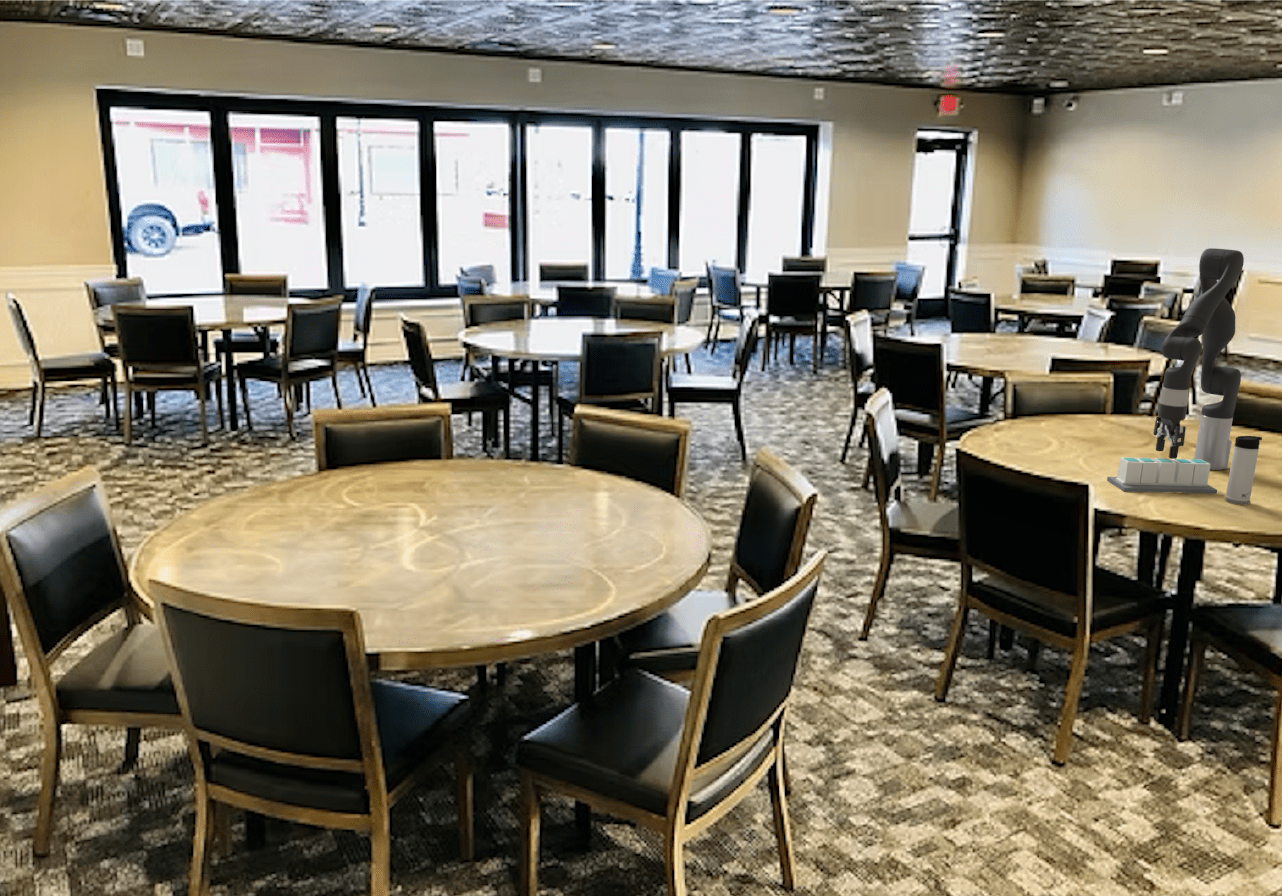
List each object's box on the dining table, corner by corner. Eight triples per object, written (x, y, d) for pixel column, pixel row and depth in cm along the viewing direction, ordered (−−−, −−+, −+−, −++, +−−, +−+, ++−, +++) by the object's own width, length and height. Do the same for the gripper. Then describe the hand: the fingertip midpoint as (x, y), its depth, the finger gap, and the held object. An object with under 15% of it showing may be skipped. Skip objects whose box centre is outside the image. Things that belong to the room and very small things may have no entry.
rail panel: (1196, 482, 329) (1200, 456, 327) (1216, 493, 317) (1221, 466, 315) (1106, 480, 329) (1110, 453, 327) (1123, 491, 317) (1127, 464, 315)
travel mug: (1248, 506, 305) (1260, 439, 300) (1223, 502, 309) (1234, 435, 304) (1252, 501, 310) (1263, 435, 305) (1227, 497, 314) (1238, 432, 309)
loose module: (1164, 478, 325) (1167, 457, 324) (1173, 483, 320) (1176, 462, 318) (1150, 478, 325) (1153, 457, 324) (1158, 483, 320) (1161, 462, 318)
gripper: (1198, 408, 310) (1189, 461, 314) (1174, 397, 323) (1167, 448, 328) (1172, 407, 310) (1164, 460, 314) (1150, 397, 323) (1143, 448, 328)
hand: (1165, 454), depth 321 cm, fingers open, 8 cm apart
